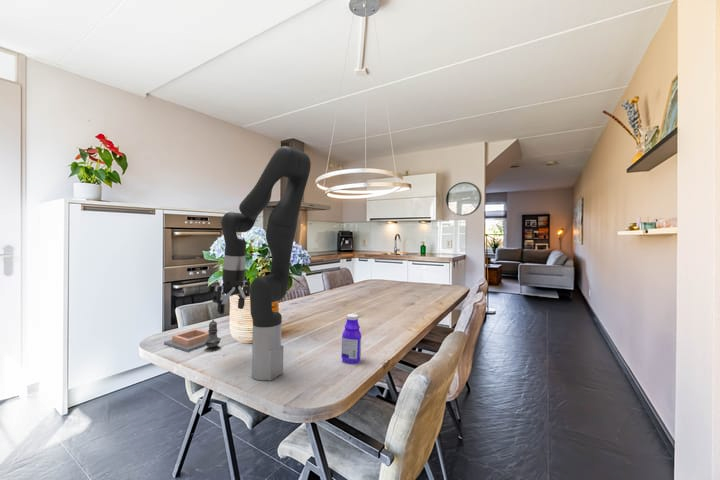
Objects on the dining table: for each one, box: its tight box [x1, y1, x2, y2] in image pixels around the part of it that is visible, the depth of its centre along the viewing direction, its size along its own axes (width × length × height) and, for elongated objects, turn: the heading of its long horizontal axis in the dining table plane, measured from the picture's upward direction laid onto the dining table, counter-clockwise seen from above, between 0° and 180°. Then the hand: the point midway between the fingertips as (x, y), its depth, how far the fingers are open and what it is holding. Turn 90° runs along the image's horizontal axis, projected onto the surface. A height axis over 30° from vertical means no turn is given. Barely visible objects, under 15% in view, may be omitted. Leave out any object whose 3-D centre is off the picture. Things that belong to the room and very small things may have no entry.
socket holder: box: [163, 328, 209, 353], centre depth 123 cm, size 16×14×4 cm
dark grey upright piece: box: [205, 319, 222, 352], centre depth 117 cm, size 6×6×12 cm
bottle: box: [340, 313, 362, 364], centre depth 109 cm, size 7×6×17 cm
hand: (231, 311), depth 106 cm, fingers open, 8 cm apart
